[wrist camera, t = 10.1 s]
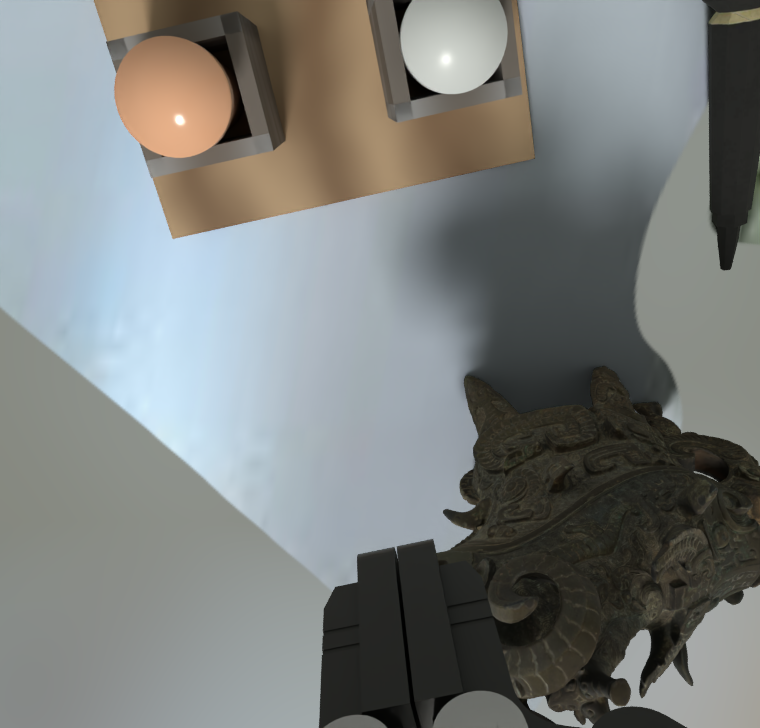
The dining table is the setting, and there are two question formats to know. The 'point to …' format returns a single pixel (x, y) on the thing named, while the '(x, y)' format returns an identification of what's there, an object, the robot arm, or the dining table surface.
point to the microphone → (733, 117)
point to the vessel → (601, 538)
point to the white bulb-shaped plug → (453, 43)
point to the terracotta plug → (176, 96)
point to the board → (320, 107)
